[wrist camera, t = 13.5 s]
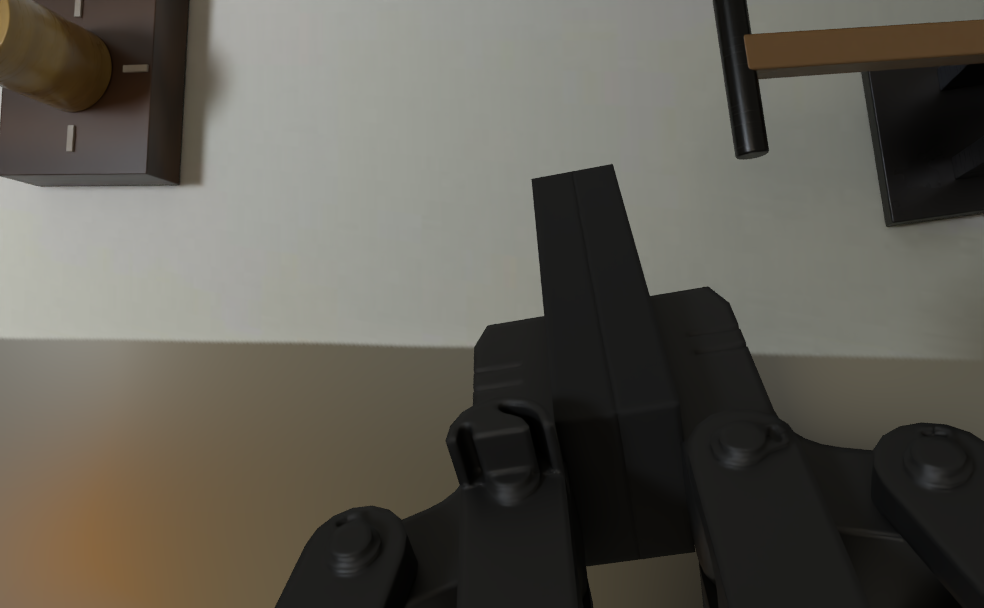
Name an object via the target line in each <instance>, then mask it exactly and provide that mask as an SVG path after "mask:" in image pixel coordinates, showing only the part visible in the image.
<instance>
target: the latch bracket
mask: <svg viewBox="0 0 984 608" xmlns="http://www.w3.org/2000/svg"><path fill="white" fill-rule="evenodd" d="M861 73H862V79H863V86H864V92H865V98H866V104H867V111H868V117H869V123H870V129H871V136H872V142H873V148H874V154H875V161H876V167H877V173H878V179H879V186H880V192H881V198H882V204H883V211H884V217H885V223H886V226H895V225H902V224H909V223H916V222H923V221H930V220H937V219H944V218H951V217H958V216H965V215H972V214H979V213H984V63H978V64H964V65H950V66H936V67H922V68H908V69H894V70H880V71H866V72H861Z"/></svg>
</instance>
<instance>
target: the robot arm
mask: <svg viewBox="0 0 984 608" xmlns="http://www.w3.org/2000/svg"><path fill="white" fill-rule="evenodd" d="M532 188H533V199H534V210H535V220H536V231H537V242H538V252H539V263H540V274H541V284H542V295H543V306H544V316H542V317H536V318H530V319H524V320H518V321H512V322H506V323H500V324H494V325H488V326H487V327H486V329H485V330H484V332H483V334H482V335H481V337H480V339H479V340H478V342H477V344H476V345H475V347H474V384H473V385H474V387H473V388H474V393H473V406H472V407H470V408H469V409H467V410H465V411H464V412H462V413H461V414H460V415H459V417H458V418H457V419H456V420H455V421H454V422H453V424H452V425H451V426H450V429H449V432H448V435H447V438H446V443H447V446H448V450H449V453H450V456H451V459H452V462H453V465H454V468H455V471H456V474H457V477H458V480H459V484H460V486H459V487H458V488H457V490H456V491H455V492H454V493H452V494H451V495H450V496H449V497H447V498H446V499H445V500H444V501H442V502H440V503H439V504H437V505H434V506H433V507H431V508H429V509H427V510H424V511H422V512H420V513H417V514H415V515H413V516H410V517H408V518H405V519H403V520H401V519H400V518H399V517H397V516H396V515H395V514H394V513H393V512H391V511H390V510H388V509H384V508H380V507H375V506H366V507H358V508H352V509H349V510H347V511H345V512H342V513H340V514H337V515H335V516H333V517H332V518H331V519H329V520H328V521H327V522H325V523H324V524H323V525H321V526H320V527H319V528H318V529H317V530H316V531H315V533H314V534H313V535H312V537H311V538H310V540H309V541H308V542H307V544H306V546H305V547H304V549H303V551H302V553H301V556H300V557H299V559H298V562H297V563H296V566H295V567H294V569H293V572H292V574H291V576H290V578H289V580H288V582H287V584H286V586H285V588H284V590H283V592H282V594H281V596H280V598H279V600H278V602H277V604H276V606H275V608H593V601H592V597H591V592H590V588H589V583H588V579H587V571H586V566H593V565H600V564H608V563H616V562H623V561H630V560H638V559H646V558H652V557H660V556H668V555H675V554H683V553H691V552H695V548H696V552H697V556H698V559H699V567H700V576H701V586H702V596H703V607H704V608H984V441H982V440H981V439H979V438H978V437H976V436H975V435H973V434H972V433H970V432H967V431H964V430H961V429H958V428H955V427H952V426H949V425H944V424H932V423H916V424H912V425H906V426H900V427H898V428H896V429H894V430H892V431H890V432H889V433H887V434H885V435H883V436H882V438H881V439H880V441H879V442H878V444H877V445H876V447H875V448H874V450H862V449H851V448H841V447H835V446H829V445H822V444H819V443H817V442H814V441H811V440H808V439H805V438H803V437H802V436H800V435H798V434H796V433H795V432H793V430H792V429H791V427H790V426H789V425H788V424H787V423H785V422H784V421H782V420H780V419H779V418H778V416H777V415H776V413H775V411H774V409H773V407H772V404H771V402H770V400H769V397H768V395H767V392H766V390H765V388H764V385H763V383H762V380H761V378H760V376H759V373H758V371H757V368H756V366H755V363H754V361H753V359H752V356H751V354H750V351H749V349H748V347H746V342H745V339H744V337H743V335H742V332H741V330H740V329H739V326H738V323H737V320H736V318H735V315H734V313H733V310H732V308H731V306H730V303H729V302H727V301H726V300H725V299H724V298H722V297H721V296H720V295H718V294H717V293H716V292H715V291H713V290H712V289H711V288H709V287H702V288H696V289H690V290H684V291H678V292H672V293H666V294H660V295H654V296H650V295H649V292H648V288H647V285H646V281H645V278H644V274H643V271H642V267H641V263H640V260H639V256H638V253H637V249H636V246H635V242H634V239H633V235H632V231H631V228H630V224H629V221H628V217H627V214H626V210H625V206H624V203H623V199H622V196H621V192H620V189H619V185H618V182H617V178H616V174H615V171H614V167H613V164H610V165H605V166H599V167H594V168H589V169H583V170H578V171H573V172H567V173H562V174H556V175H551V176H546V177H540V178H535V179H532ZM694 544H695V546H694Z"/></svg>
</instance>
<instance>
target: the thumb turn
mask: <svg viewBox="0 0 984 608" xmlns="http://www.w3.org/2000/svg"><path fill="white" fill-rule="evenodd" d="M111 71H112V63H111V57H110V53H109V51H108V49H107V47H106V45H105V44H104V42H103V41H102V40H101V39H100V38H99V37H98V36H96V35H95V34H93V33H91V32H90V31H88V30H86V29H84V28H82V27H81V26H79V25H77V24H75V23H73V22H72V21H70V20H68V19H66V18H64V17H62V16H61V15H59V14H57V13H55V12H53V11H52V10H50V9H48V8H46V7H44V6H43V5H41V4H39V3H37V2H35V1H33V0H0V86H1V87H3V88H6V89H8V90H11V91H13V92H16V93H18V94H21V95H23V96H26V97H28V98H31V99H33V100H36V101H38V102H41V103H43V104H46V105H49V106H51V107H54V108H56V109H59V110H61V111H65V112H77V111H82V110H84V109H87V108H89V107H90V106H92V105H93V104H95V103H96V102H97V101H98V100H99V99H100V98H101V96H102V95H103V94H104V92H105V91H106V89H107V86H108V84H109V81H110V77H111Z"/></svg>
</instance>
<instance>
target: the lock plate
mask: <svg viewBox="0 0 984 608" xmlns="http://www.w3.org/2000/svg"><path fill="white" fill-rule="evenodd" d="M33 1H35V2H37V3H39V4H41V5H43V6H44V7H46V8H48V9H50V10H52V11H53V12H55V13H57V14H59V15H61V16H62V17H64V18H66V19H68V20H70V21H72V22H73V23H75V24H77V25H79V26H81V27H82V28H84V29H86V30H88V31H90V32H91V33H93V34H95V35H96V36H98V37H99V38H100V39H101V40H102V41H103V42H104V44H105V45H106V47H107V49H108V51H109V53H110V57H111V63H112V71H111V77H110V81H109V84H108V86H107V89H106V91H105V92H104V94H103V95H102V96H101V98H100V99H99V100H98V101H97V102H96V103H95V104H93V105H92V106H90V107H89V108H87V109H84V110H82V111H77V112H65V111H61V110H59V109H56V108H54V107H51V106H49V105H46V104H43V103H41V102H38V101H36V100H33V99H31V98H28V97H26V96H23V95H21V94H18V93H16V92H13V91H11V90H8V89H6V88H2V103H1V119H0V176H1V177H5V178H9V179H13V180H17V181H20V182H24V183H28V184H32V185H36V186H109V185H179V176H180V157H181V138H182V119H183V100H184V81H185V62H186V43H187V24H188V5H189V0H33Z"/></svg>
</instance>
